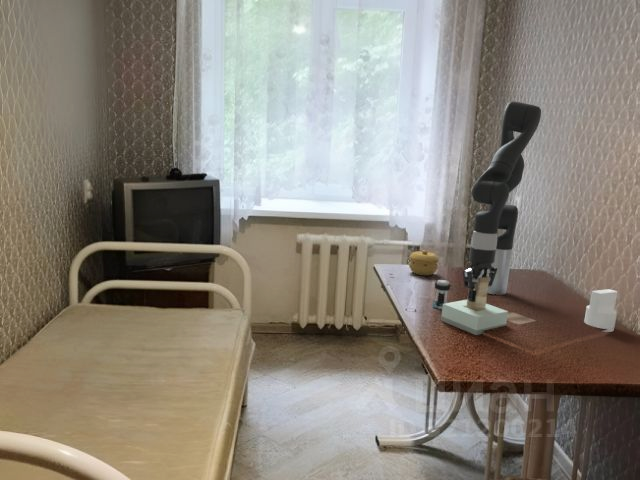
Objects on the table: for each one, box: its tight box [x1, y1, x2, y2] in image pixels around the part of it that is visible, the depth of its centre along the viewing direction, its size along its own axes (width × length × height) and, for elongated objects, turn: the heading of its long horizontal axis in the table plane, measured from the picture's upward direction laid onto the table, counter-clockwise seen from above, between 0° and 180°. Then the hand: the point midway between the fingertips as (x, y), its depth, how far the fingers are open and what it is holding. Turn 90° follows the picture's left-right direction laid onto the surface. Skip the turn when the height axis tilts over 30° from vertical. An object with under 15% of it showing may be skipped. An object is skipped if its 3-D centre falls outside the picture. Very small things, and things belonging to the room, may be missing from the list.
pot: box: [408, 249, 439, 276], centre depth 245 cm, size 12×12×10 cm
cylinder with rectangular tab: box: [583, 288, 619, 333], centre depth 193 cm, size 9×9×12 cm
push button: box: [432, 279, 452, 310], centre depth 198 cm, size 7×5×10 cm
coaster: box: [507, 311, 537, 326], centre depth 194 cm, size 9×9×1 cm
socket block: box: [440, 299, 509, 336], centre depth 187 cm, size 14×14×6 cm
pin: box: [466, 277, 489, 311], centre depth 185 cm, size 4×4×12 cm
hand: (476, 300), depth 186 cm, fingers closed on pin, 4 cm apart
